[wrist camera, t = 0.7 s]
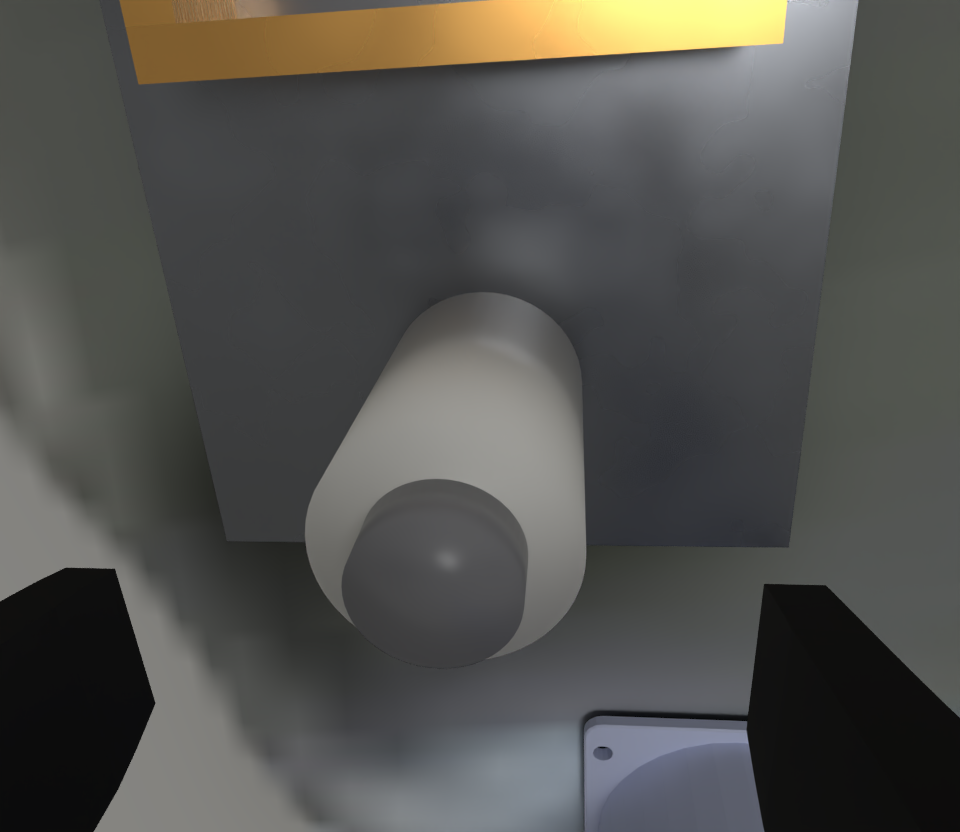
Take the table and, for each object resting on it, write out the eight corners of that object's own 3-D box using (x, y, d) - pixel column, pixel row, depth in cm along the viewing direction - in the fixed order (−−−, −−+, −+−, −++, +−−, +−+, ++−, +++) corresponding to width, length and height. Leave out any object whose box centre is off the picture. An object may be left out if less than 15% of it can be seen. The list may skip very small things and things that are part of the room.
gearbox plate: (777, 522, 18) (820, 622, 15) (242, 518, 20) (180, 608, 17) (939, -839, 10) (1111, -1247, 7) (-19, -657, 11) (-244, -919, 8)
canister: (582, 468, 17) (587, 717, 11) (401, 468, 18) (307, 706, 11) (581, 288, 15) (587, 462, 9) (381, 294, 16) (256, 462, 10)
